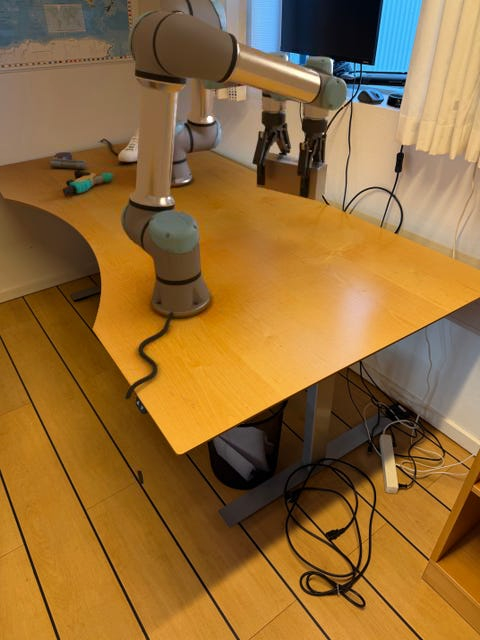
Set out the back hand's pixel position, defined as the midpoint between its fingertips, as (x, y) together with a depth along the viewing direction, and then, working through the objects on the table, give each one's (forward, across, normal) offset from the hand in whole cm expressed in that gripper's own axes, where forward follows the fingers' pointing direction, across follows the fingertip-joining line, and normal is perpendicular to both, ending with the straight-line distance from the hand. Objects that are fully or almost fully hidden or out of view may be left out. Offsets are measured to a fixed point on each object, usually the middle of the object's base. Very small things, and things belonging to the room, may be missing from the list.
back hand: (271, 178), depth 158 cm
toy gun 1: (+15, -2, -108) cm, 109 cm away
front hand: (+2, 0, +14) cm, 14 cm away
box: (+2, 0, +7) cm, 8 cm away
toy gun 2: (+15, +15, -82) cm, 85 cm away
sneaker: (+15, -27, -91) cm, 96 cm away
